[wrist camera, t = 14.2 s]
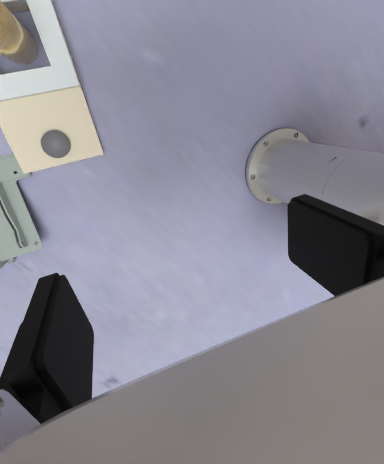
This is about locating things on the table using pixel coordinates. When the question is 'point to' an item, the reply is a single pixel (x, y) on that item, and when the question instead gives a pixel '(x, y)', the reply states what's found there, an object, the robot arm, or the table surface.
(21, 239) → the metal bracket
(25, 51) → the brass pin
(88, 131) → the white peg board
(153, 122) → the table surface
